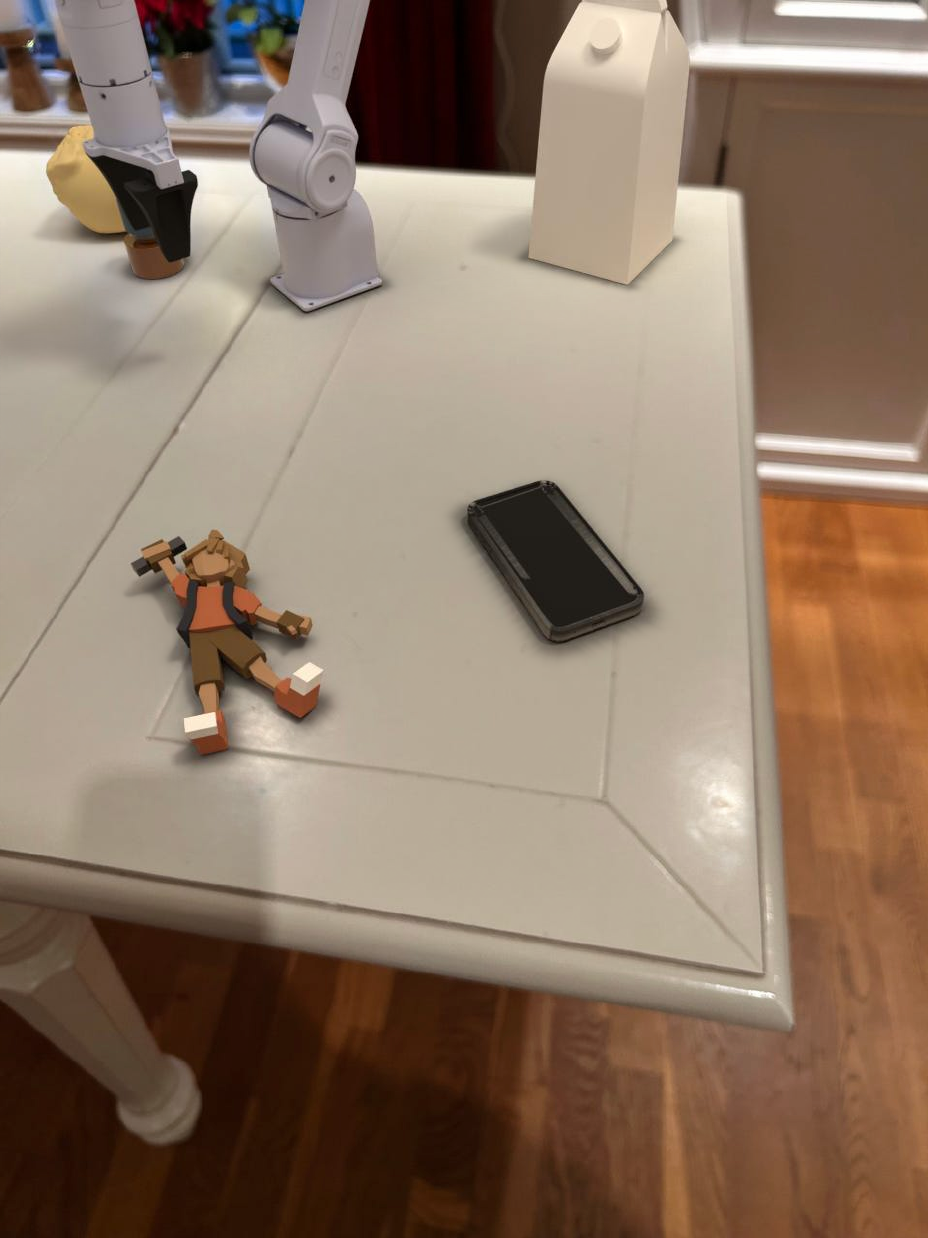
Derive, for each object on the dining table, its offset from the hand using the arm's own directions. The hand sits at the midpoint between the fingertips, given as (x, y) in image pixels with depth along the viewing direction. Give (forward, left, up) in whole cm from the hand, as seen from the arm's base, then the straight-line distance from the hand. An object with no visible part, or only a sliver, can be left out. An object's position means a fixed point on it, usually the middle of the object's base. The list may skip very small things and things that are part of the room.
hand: (161, 241), depth 82 cm
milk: (-45, +10, -11) cm, 47 cm away
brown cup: (-4, -17, -10) cm, 20 cm away
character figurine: (+14, +38, -11) cm, 42 cm away
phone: (-9, +45, -10) cm, 47 cm away
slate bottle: (-4, -17, -6) cm, 18 cm away
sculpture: (-5, -30, -11) cm, 32 cm away
